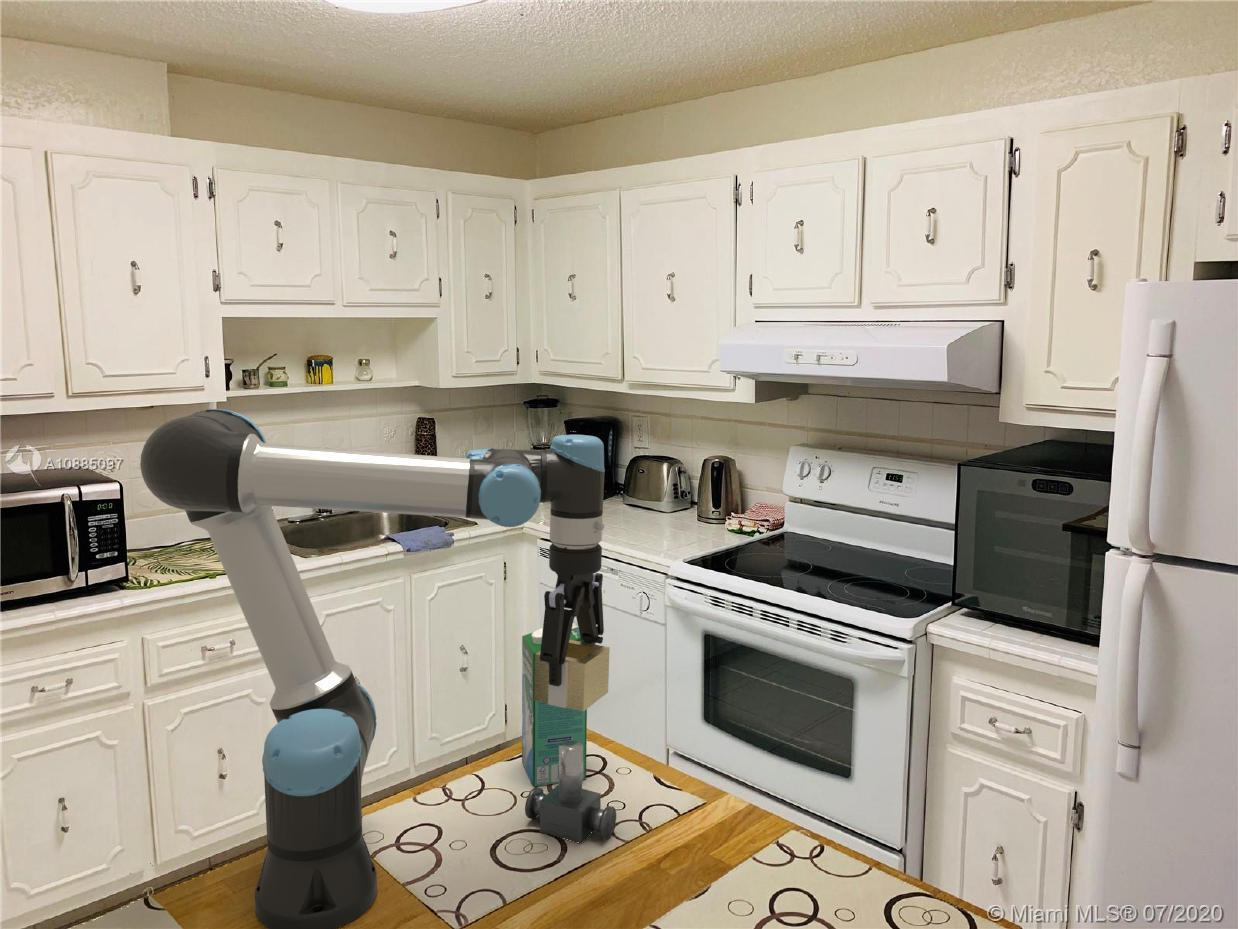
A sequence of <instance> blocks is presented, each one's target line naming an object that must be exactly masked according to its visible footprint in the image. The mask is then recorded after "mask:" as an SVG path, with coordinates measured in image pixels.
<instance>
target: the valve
mask: <svg viewBox="0 0 1238 929" xmlns="http://www.w3.org/2000/svg"><path fill="white" fill-rule="evenodd" d="M601 795H602V794H601V792H597V791H592V790H589V789H585V788H583V745H582V744H581V743H580V742H577V741H565V742H562V743H561V744H560V745H559V783H557V785H555V787H553V789H551V790H550V791H549V792H548V793H547V794H546V793H545V792H544V790H543V788H542V787H540V786H534V787H532V789H531V790H530V791H529V793H528V795H527V797H526V801H525V806H524V812H525V813H524V814H525V816H526V818H528V819H530V820H535V819H536V818H537V817H539V833H542V834H545V835H548V834H549V836H552V835H554V836H553V837H555V836H557V837H556V838H559V837H560V838H559V839H562V838H565V839H564V840H566V839H568V840H567V841H569V840H571V841H570V842H573V841H574V842H573V843H576V842H579V843H578V844H580V843H582V842H583V841H584V840H585V839H586V838H587V837H588V836H589V835H590V834H591V832H593V831H594V832H596V833H598V835H599V838H600V839H601V840H608V839H609V838H611V836H612V835H613V833H614V830H615V826H616V824H617V810H616V808H615V807H614V806H612V805H607V806H606V807H605V808H604V809H603V808H601V805H602V803H601V801H602V800H601ZM594 832H593V833H594ZM591 835H592V834H591ZM591 835H590V836H591ZM590 836H589V837H590ZM589 837H588V838H589ZM588 838H587V839H588ZM587 839H586V840H587ZM586 840H585V841H586ZM585 841H584V842H585ZM584 842H583V843H584ZM583 843H582V844H583Z"/></svg>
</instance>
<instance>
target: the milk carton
mask: <svg viewBox="0 0 1238 929" xmlns="http://www.w3.org/2000/svg"><path fill="white" fill-rule="evenodd" d="M542 632H543V627H541V628H538V629H537V630H535V631H533V632H530V633H528V634H524V635H522V636H521V640H522V641H521V643H522V644H521V654H522V656H521V657H522V658H521V662H522V663H521V665H522V666H521V671H522V672H521V677H522V678H521V679H522V680H521V684H522V685H521V692H522V693H521V695H522V696H521V702H522V703H521V719H522V720H521V722H522V723H521V726H522V727H521V729H522V730H521V762H522V764H523V767H524V769H525V772H526V774H527V776H528V778H529V781H530V783H531V785H532V788H534V787H540V786H547V785H555V784H559V745H560V744H561V743H562V742H565V741H577V742H580V743H581V744H582V745H583V780H587V736H588V734H587V732H588V731H587V729H588V726H587V724H588V723H587V722H588V721H587V719H588V708H587V709H586V710H585V711H579V710H574V709H570V708H563V707H558V706H554V705H549V704H548V703H543V702H539V701H535V700H534V691H535V654H536V653H538V652H540V651H541V642H542ZM569 640H574V641H579V642H584V641H583V640H581V637H580V632H579V627H578V623H577V621H576V620H575V619H574V621H573V625H572V630H571V635H570V639H569Z"/></svg>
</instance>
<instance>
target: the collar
mask: <svg viewBox="0 0 1238 929" xmlns="http://www.w3.org/2000/svg"><path fill="white" fill-rule="evenodd" d="M595 644H596V643H595ZM595 644H590V643H584V642H579V641H574V640H569V644H568V649H567V654H566V658H565V662H568V697H567V707H565V708H570V709H574V710H579V711H585V710H586V709H587V710H588V709H589V708H590V707H591V706H593V705H594V704H595V703H597V702H598V701H599V700H600V699H602V698H603V697H604V696H606V695H607V694H608V693H609V676H610V646H604V645H601V644H596V645H595ZM548 687H549V663H548V662H544V661H540V652H538V653H536V654H535V691H534V700H535V701H539V702H543V703H548Z"/></svg>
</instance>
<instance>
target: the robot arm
mask: <svg viewBox="0 0 1238 929" xmlns="http://www.w3.org/2000/svg"><path fill="white" fill-rule="evenodd" d="M604 448H605V446H604V442H603V441H602V440H601V439H600V438H599V437H597V436H593V435H585V434H561V435H560V434H559V435H555V436H554V437H553V438H552V440H551V444H550V448H544V449H511V448H510V449H509V448H508V449H506V448H505V449H504V448H494V447H489V448H483V449H479V448H478V449H471V450H469V451H468V452H467V454H466V456H465V457H450V456H438V455H437V456H436V455H424V454H423V455H422V454H412V453H411V454H410V453H398V452H395V453H394V452H384V451H383V452H382V451H371V450H360V449H359V450H358V449H343V448H333V447H317V446H304V445H292V444H281V443H280V444H279V443H267V441H266V439H265V436H264V434H263V432H262V430H261V429H260V428H259V426H258V425H257V424H256V423H255V422H253V421H252V420H251V419H250V418H248V417H247V416H246V415H243V414H242V413H239V412H235V411H233V410H228V409H219V408H208V409H205V410H200V411H196V412H195V413H192V414H189V415H186V416H182V417H179V418H178V417H177V418H175V419H171V420H169V421H167V422H164V423H163V424H162V425H160V426H159V427H157V428H156V429H155V430H154V431H153V432H152V433H151V434H150V435H149V437H148V438H147V440H146V441H145V443H144V445H143V448H142V451H141V453H140V460H139V461H140V463H139V464H140V465H139V466H140V472H141V476H142V479H143V481H144V484H145V485H146V487H147V488H148V490H149V491H150V492H151V494H152V495H153V496H155V498H157V499H158V500H159V501H161V502H162V503H164V504H166V505H168V506H169V507H173V508H175V509H178V510H184V511H185V513H186V515H187V518H188V520H189V521H188V522H189V523H190V524H191V525H192V526H195V527H198V528H201V529H202V530H205V531H207V533H208V535H209V538H210V540H211V542H212V544H213V547H214V549H215V551H216V553H217V555H218V559H219V561H220V563H221V565H222V567H223V569H224V572H225V575H226V576H227V579H228V581H229V583H230V586H231V588H232V590H233V593H234V594H235V597H236V600H237V602H238V604H239V607H240V609H241V612H242V614H243V616H244V618H245V621H246V623H247V626H248V628H249V630H250V632H251V634H252V637H253V639H254V641H255V644H256V646H257V649H258V650H259V653H260V655H261V659H262V661H263V662H264V664H265V666H266V670H267V671H268V673H269V676H270V678H271V680H272V684H273V686H274V693H272V694H273V695H272V696H271V699H270V701H269V706H270V708H271V711H272V714H273V715H274V717H275V720H276V722H277V723H276V724H275V725H274V726H273V727H272V728H271V729H270V731H269V732H268V733H267V735H266V737H265V741H264V746H263V754H262V758H261V759H262V760H261V764H262V772H263V776H264V777H263V780H264V800H265V821H266V842H267V845H266V846H267V847H266V848H267V850H266V853H265V856H264V860H263V863H262V867H261V871H260V874H259V875H260V876H259V879H258V881H257V883H256V887H255V888H254V889H255V890H254V912H255V913H254V914H255V915H256V918H257V919H258V921H259V923H260V924H262V925H263V926H264V927H265V928H267V929H336V928H340V927H342V926H345V925H346V924H349V923H350V922H352V921H354V920H356V919H357V918H359V917H360V916H362V915H363V914H365V912H366V911H367V910H368V909H369V908H370V907H371V906H372V905H373V903H374V902H375V899H376V897H377V894H378V872H377V868H376V866H375V863H374V861H373V860H372V858H371V853H370V851H369V848H368V846H367V843H366V840H365V838H364V835H363V808H362V807H363V806H362V803H363V802H362V781H363V774H364V771H365V767H366V765H367V764H366V763H367V761H368V758H369V753H370V750H371V746H372V744H373V741H374V738H375V735H376V731H377V713H376V707H375V703H374V701H373V699H372V698H373V697H372V696H371V695H370V694H369V691H367V689H366V688H364V687H363V686H362V685H361V684H360V683H358V682H357V680H356V678H355V675H354V674H353V671H352V669H351V667H350V666H349V665H347V664H345V663H341V662H339V661H336V659H335V657H334V655H333V651H332V650H331V647H330V645H329V642H328V640H327V638H326V635H325V633H324V630H323V628H322V626H321V623H320V621H319V619H318V615H317V613H316V611H315V608H314V607H313V604H312V602H311V599H310V596H309V594H308V592H307V589H306V587H305V585H304V582H303V580H302V576H301V575H300V573H299V571H298V568H297V565H296V563H295V560H294V558H293V556H292V554H291V551H290V549H289V545H288V544H287V541H286V539H285V537H284V534H283V532H282V529H281V526H280V525H279V522H278V520H277V517H276V515H275V512H274V510H273V507H286V508H287V507H288V508H301V509H302V508H304V509H315V510H317V509H318V510H319V509H320V510H334V511H335V510H336V511H347V512H348V511H351V512H366V513H382V514H383V513H384V514H397V515H398V514H400V515H401V514H402V515H416V516H417V515H418V516H429V517H430V516H433V517H450V518H463V519H464V518H465V519H471V520H473V519H475V520H487V521H488V520H489V521H490V522H492V524H493V523H494V524H496V525H497V526H500V527H504V528H515V527H518V526H522V525H523V524H526V523H527V522H529V520H531V519H532V518H533V517H534V515H536V513H537V511H538V508H539V506H540V504H541V503H542V504H545V503H550V513H549V514H550V517H549V518H550V519H549V522H550V523H549V540H550V542H552V543H551V544H550V545H549V551H548V552H549V554H548V555H549V556H548V558H549V560H548V566H549V569H550V570H551V571H552V572H554V573H555V574H556V576H557V578H556V583H555V586H554V587H555V588H554V590H552V591H550V590H546V591H545V592H544V596H543V598H544V615H543V625H542V628H543V632H542V642H541V651H540V661H544V662H548V663H549V687H548V704H549V705H554V706H558V707H563V708H565V707H567V697H568V662H565V658H566V654H567V649H568V644H569V639H570V635H571V630H572V625H573V621H574V620H575V618H576V623H577V624H578V627H579V632H580V637H581V640H583V641H584V643H590V644H595V645H597V644H598V645H602V644H603V641H604V637H603V635H604V633H605V628H604V626H605V625H604V609H603V608H604V606H603V589H602V588H603V581H604V580H603V579H604V576H603V573H599V571H600V570H601V569H602V560H603V553H602V552H603V547H602V546H601V544H600V542H602V540H603V530H604V529H605V524H604V523H603V514H604V512H603V511H604V510H603V509H604V489H605V486H604V485H605V471H606V469H605V450H604Z"/></svg>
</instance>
